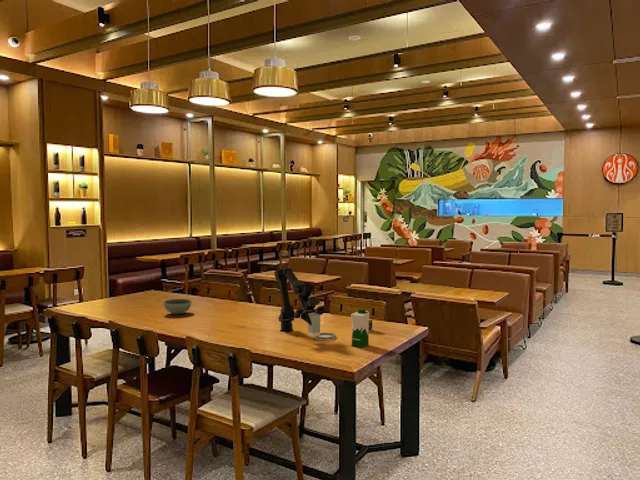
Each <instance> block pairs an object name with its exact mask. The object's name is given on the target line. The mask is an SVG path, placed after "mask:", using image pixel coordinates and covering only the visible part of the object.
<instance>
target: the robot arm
mask: <svg viewBox="0 0 640 480" xmlns="http://www.w3.org/2000/svg"><path fill="white" fill-rule="evenodd" d="M273 273H274V277H275V281H276V282H277V283H278V286H279V291H280V292H279V293H280V299H281V304H282V305H281V309H280V314H279V316H278V322H280V330H279V331H280V332H286V333H289V332H291V331H293V330H294V329H293V327H294V326H293V322H294V321H295V319H301V320H303V321H305V322H306V323H307V325H308V324H310V325H312V323H311V320H310V318H309V316H308V314H314V313H316V314H319V315H320V316H322V315H324V313H325V312H326V310H327V309H326V307H325V306H324V305H321V306H318V307H316V306H317V305H319V304H320V299H319V298H318V297H317V298H314V299H310V297H311V296H312V294H313V293H314V290H315V286H313V284H310V283H309V282H305V283H304V282H303V281H300V280H299V279H298V277H297V276H296V275H295V273H294V272H293V269H292V268H291V267H284V268H280V269H279V268H278V269H277V268H276V270H274V272H273ZM288 281H289V283H290V284H291V287H292V291H293V293H294V294H295V295H297V301H299V303H300V304H301V307H300V308H297V309H296V311H295V308H294V306H292V305H291V302H290V295H289V294H290V293H289V289H288ZM315 308H316V309H315Z"/></svg>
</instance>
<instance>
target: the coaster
mask: <svg viewBox="0 0 640 480" xmlns="http://www.w3.org/2000/svg"><path fill="white" fill-rule="evenodd" d="M314 338H315V340H318V341H333V340H335V339H336V338H337V335H336V334H335V333H333V332H320V336H315V337H314Z"/></svg>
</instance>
